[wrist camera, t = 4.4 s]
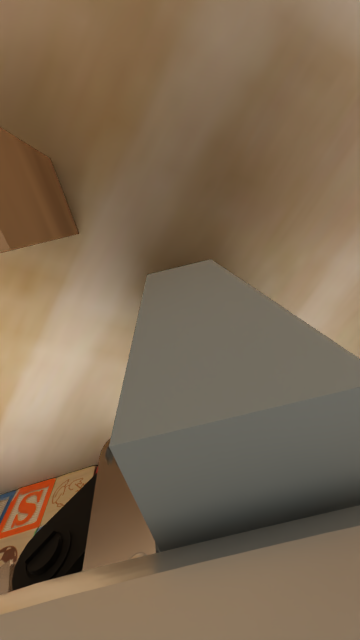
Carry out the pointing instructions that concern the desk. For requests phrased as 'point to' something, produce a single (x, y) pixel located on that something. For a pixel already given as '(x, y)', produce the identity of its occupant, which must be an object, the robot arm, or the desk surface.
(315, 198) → the desk surface
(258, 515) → the blue board
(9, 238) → the brown wooden block
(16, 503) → the stack of blocks
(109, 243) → the desk surface
